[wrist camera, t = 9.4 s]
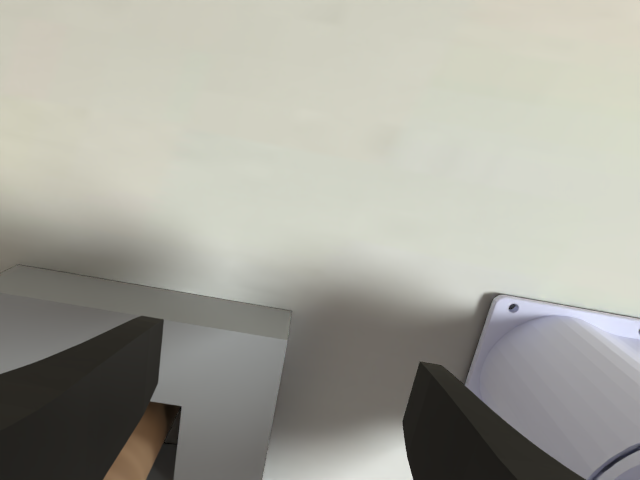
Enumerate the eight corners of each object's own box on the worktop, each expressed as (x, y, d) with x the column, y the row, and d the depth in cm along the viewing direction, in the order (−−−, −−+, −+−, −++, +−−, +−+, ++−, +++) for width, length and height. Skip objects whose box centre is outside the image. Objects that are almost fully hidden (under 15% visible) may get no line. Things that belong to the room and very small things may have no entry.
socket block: (292, 311, 22) (288, 340, 19) (254, 515, 26) (245, 565, 23) (18, 264, 21) (-30, 287, 18) (21, 482, 25) (-18, 530, 22)
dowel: (184, 378, 23) (117, 508, 15) (175, 431, 24) (109, 578, 16) (118, 365, 23) (17, 491, 15) (112, 419, 24) (15, 563, 16)
